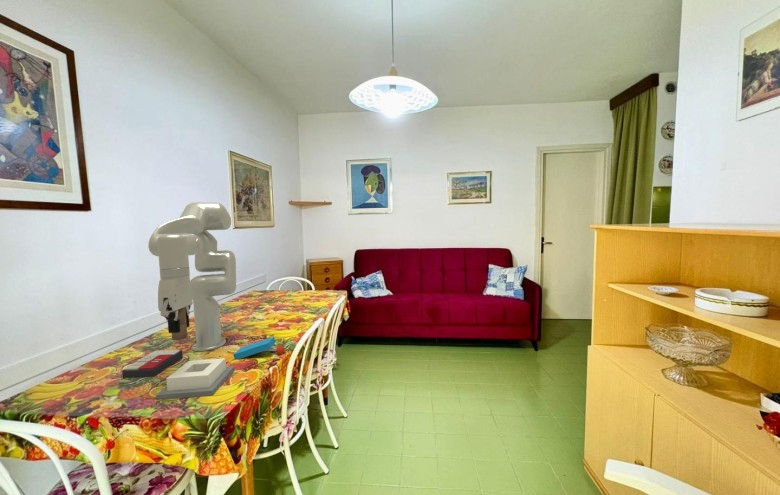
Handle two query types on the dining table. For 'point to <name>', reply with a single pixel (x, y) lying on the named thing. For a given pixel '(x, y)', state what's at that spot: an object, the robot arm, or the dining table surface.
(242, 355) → the lever
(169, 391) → the socket block
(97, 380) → the dining table surface
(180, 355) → the black red box
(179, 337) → the walnut peg
